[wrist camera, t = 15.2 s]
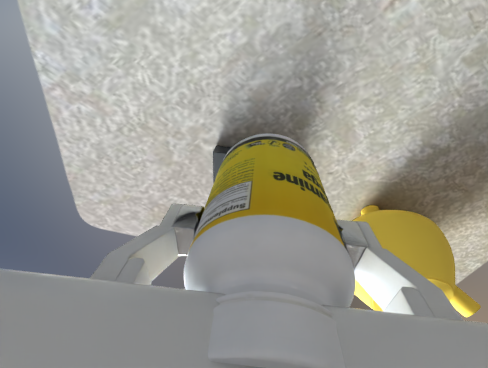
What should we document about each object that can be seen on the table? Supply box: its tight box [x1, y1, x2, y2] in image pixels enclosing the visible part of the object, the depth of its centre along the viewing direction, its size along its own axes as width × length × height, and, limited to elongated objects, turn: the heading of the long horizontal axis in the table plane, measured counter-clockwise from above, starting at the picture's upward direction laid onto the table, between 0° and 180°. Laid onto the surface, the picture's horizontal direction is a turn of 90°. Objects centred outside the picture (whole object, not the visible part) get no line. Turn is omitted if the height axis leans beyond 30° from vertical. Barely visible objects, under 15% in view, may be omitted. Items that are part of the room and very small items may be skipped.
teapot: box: [352, 205, 481, 317], centre depth 32 cm, size 20×16×14 cm
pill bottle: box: [184, 134, 355, 368], centre depth 10 cm, size 6×6×11 cm
